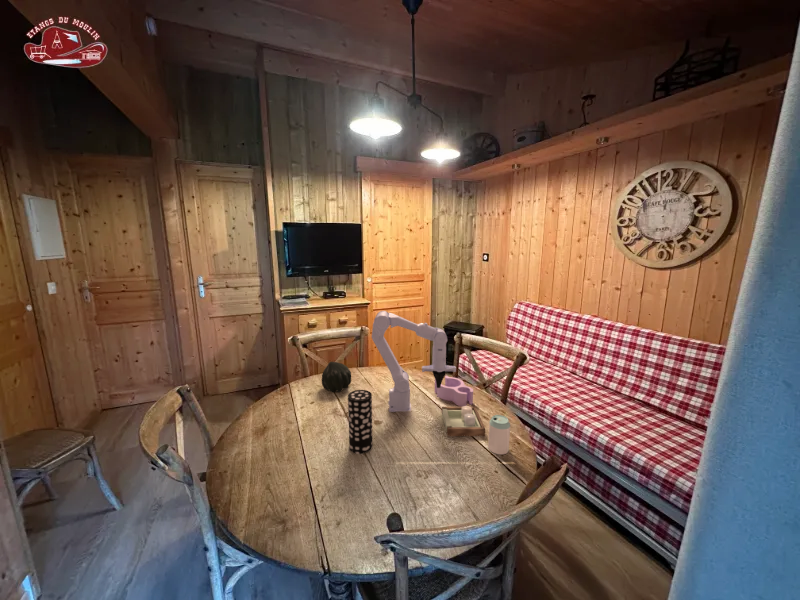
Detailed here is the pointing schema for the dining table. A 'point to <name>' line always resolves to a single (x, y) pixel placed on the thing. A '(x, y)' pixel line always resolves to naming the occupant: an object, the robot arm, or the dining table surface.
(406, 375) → the robot arm
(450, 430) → the rack
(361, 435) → the spotted tube
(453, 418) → the tray
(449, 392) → the clip
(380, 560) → the dining table surface
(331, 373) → the squash
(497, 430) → the can
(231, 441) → the dining table surface
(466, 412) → the pale pink cylinder
